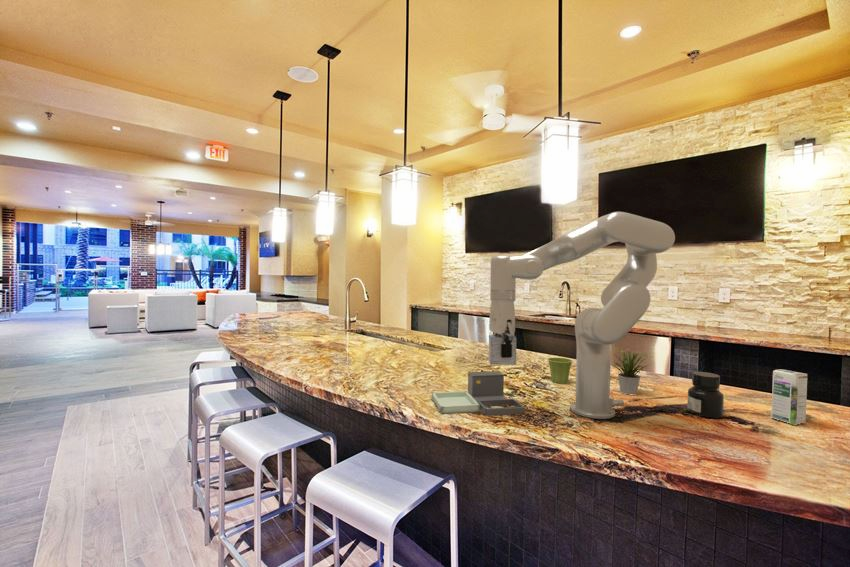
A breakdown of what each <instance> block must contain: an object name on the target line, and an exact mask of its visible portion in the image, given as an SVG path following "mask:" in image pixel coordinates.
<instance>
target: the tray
mask: <svg viewBox="0 0 850 567" xmlns="http://www.w3.org/2000/svg"><path fill="white" fill-rule="evenodd" d="M431 400H432V402H433V403H434V405H435V406H436V408H437V410H438V411H439V413H440V415H445V414H446V415H448V414H449V415H450V414H463V413H466V414H467V413H480V412H481V410H480V405H479V404H478V402H477V401H476V400H475V399H474V398H473V397H472V396H471V395H470V394H469V393H468V390H465V391H464V390H463V391H441V392H439V391H438V392H435V391H434V392H431Z"/></svg>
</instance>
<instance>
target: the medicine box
mask: <svg viewBox="0 0 850 567" xmlns="http://www.w3.org/2000/svg"><path fill="white" fill-rule="evenodd" d="M505 338H506V336H505ZM501 344H502V336H501V335H494V334H488V362H489V365H491V366H499V365H500V366H501V365H502V366H516V365H517V336H516V335H514V337H513V340H512V357H511V358H502V357H501Z"/></svg>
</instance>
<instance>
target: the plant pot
mask: <svg viewBox="0 0 850 567" xmlns="http://www.w3.org/2000/svg"><path fill="white" fill-rule="evenodd" d="M547 361H548V365H549V369H550V370H549V371H550V378H551V382H553V383H556V384H557V383H559V384H567V383H568V382H569V378H570V371H571V367H572V363H573V359H571V358H566V357H548V358H547Z"/></svg>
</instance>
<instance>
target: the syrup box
mask: <svg viewBox="0 0 850 567" xmlns="http://www.w3.org/2000/svg"><path fill="white" fill-rule="evenodd" d="M771 391H772V393H771V394H772V395H771V396H772V397H771V412H770V419H771V418H774V419H777V420H776V421H778V420H781V421H784V422H787V423H786V424H788V423H790V424H789V425H791V424H794V425H793V426H796V425H795V424H799V423H803V424H805V423H806V420H807V419H806V417H807V396H808V394H807V393H808V392H807V391H808V373H803V372H797V371H792V370H789V369H788V370H787V369H781V368H780V369H775V370H773V371H772V390H771ZM774 419H773V420H774ZM781 421H780V422H781ZM784 422H783V423H784ZM804 422H805V423H804ZM799 425H800V424H799Z"/></svg>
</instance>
